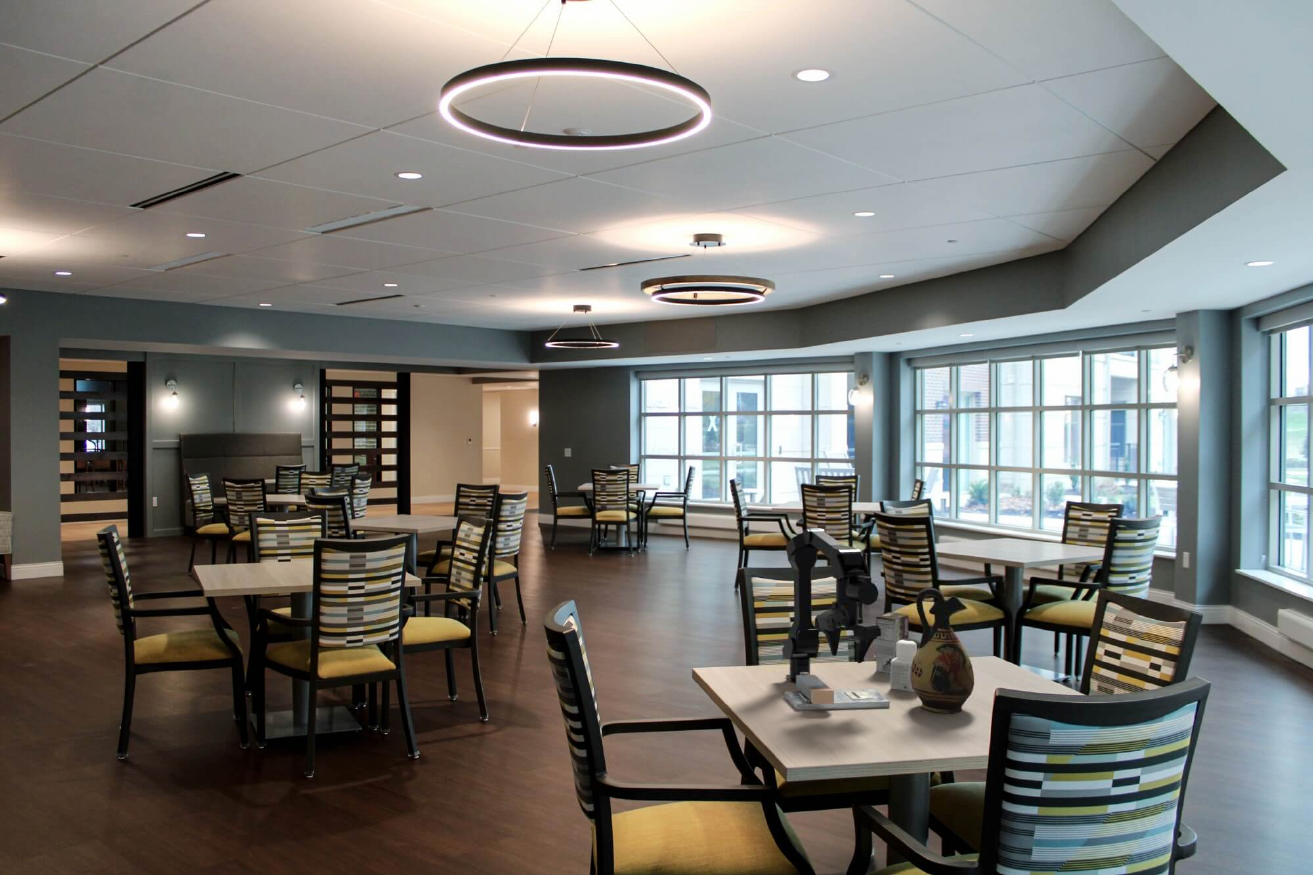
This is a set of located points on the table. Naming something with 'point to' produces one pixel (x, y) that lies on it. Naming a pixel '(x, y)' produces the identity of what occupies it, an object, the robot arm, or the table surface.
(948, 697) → the ceramic jug
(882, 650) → the coffee box
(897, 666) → the container
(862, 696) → the panel
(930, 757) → the table surface
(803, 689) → the swing bar
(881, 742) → the table surface
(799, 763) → the table surface
